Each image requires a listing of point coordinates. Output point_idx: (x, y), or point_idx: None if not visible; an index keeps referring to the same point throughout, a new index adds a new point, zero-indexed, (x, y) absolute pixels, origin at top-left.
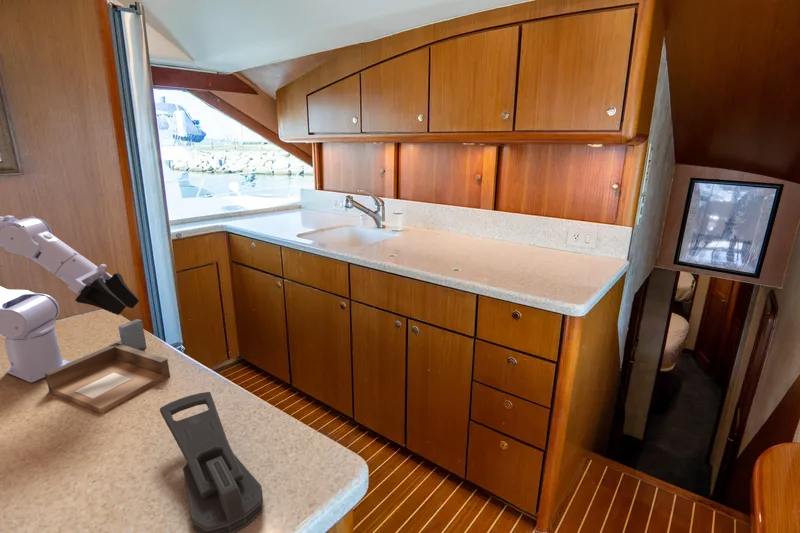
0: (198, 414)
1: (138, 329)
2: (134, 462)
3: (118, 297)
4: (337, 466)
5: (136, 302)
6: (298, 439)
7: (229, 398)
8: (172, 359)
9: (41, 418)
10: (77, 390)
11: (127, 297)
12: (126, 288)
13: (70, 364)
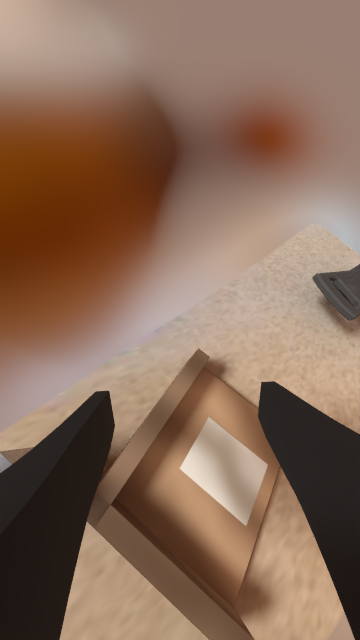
0: (345, 285)
1: None
2: (348, 358)
3: (80, 506)
4: (319, 232)
5: (109, 401)
6: (299, 244)
7: (247, 285)
8: (127, 368)
9: (305, 552)
10: (243, 520)
11: (93, 444)
12: (66, 450)
13: (199, 604)
